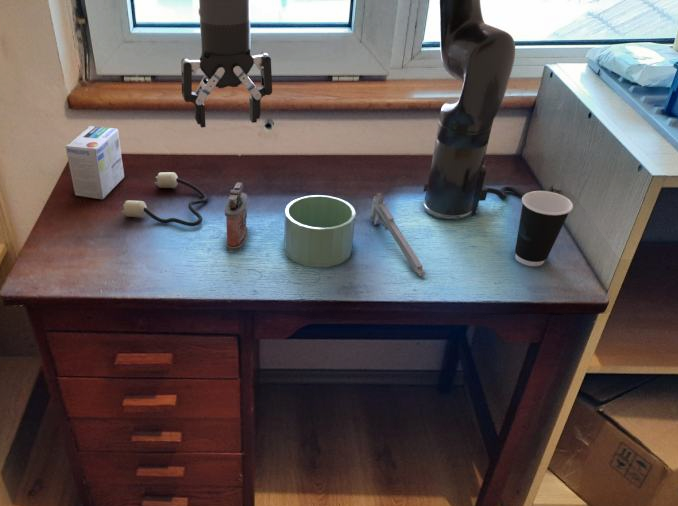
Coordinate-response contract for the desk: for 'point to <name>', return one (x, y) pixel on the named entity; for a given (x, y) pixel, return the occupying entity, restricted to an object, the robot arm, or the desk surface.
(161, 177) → the cable
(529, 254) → the dixie cup
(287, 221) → the pencil cup
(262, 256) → the desk surface
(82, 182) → the light bulb box
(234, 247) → the lighter
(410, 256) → the caliper
